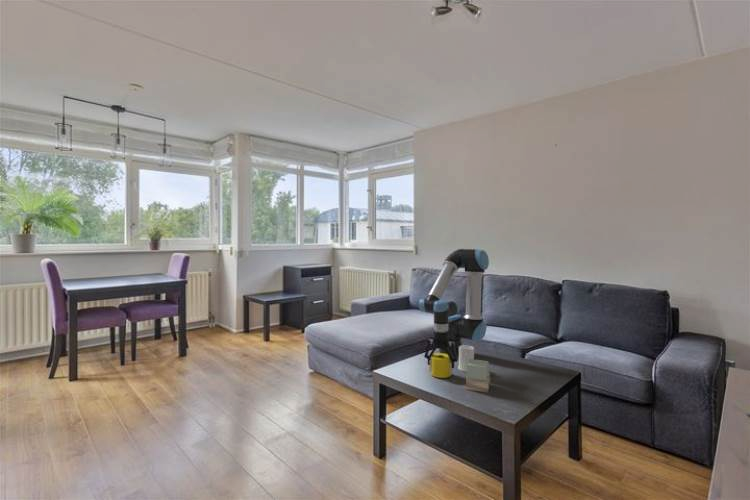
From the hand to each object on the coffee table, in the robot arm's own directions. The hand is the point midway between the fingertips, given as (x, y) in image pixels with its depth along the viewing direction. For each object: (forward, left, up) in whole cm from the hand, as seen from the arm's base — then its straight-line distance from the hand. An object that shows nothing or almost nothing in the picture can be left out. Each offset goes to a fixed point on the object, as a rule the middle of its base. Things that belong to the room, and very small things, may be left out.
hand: (440, 372), depth 194 cm
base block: (+8, +20, -2) cm, 21 cm away
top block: (+8, +20, +4) cm, 22 cm away
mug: (-13, +11, -2) cm, 17 cm away
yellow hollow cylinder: (0, 0, -1) cm, 1 cm away
